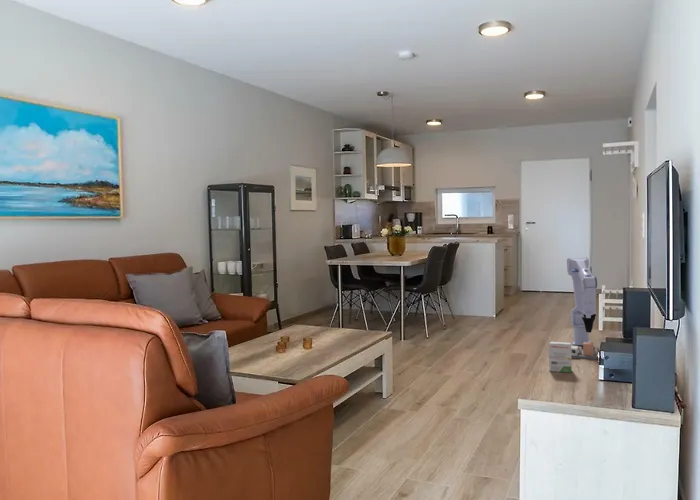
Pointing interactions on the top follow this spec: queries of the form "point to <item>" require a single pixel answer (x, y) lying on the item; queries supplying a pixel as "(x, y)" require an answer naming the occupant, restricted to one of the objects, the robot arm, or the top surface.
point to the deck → (580, 355)
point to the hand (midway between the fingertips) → (589, 330)
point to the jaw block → (587, 348)
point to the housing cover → (574, 349)
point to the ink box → (560, 357)
